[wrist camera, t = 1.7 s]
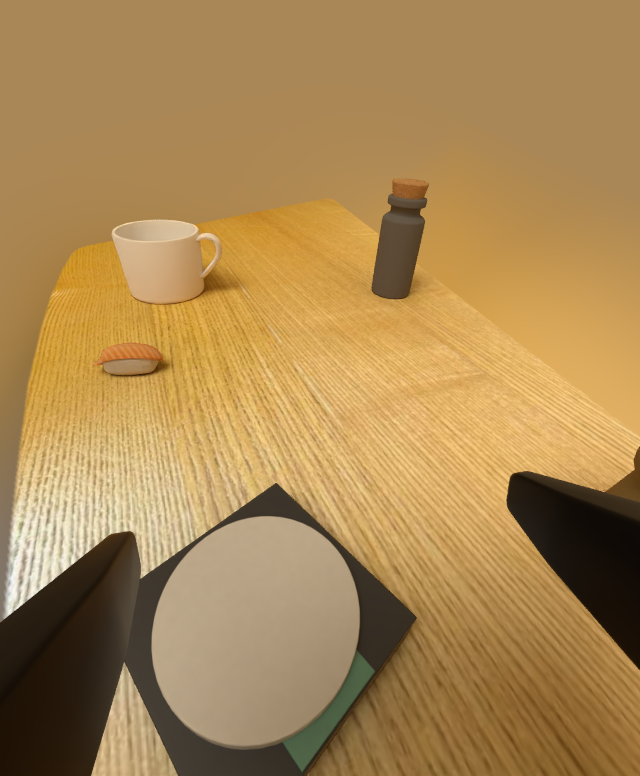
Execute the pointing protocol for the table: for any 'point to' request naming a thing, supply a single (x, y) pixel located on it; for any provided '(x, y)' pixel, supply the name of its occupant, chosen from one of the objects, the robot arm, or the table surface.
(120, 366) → the sushi
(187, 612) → the scale
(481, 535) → the table surface
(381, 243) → the bottle
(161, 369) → the table surface
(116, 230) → the mug
